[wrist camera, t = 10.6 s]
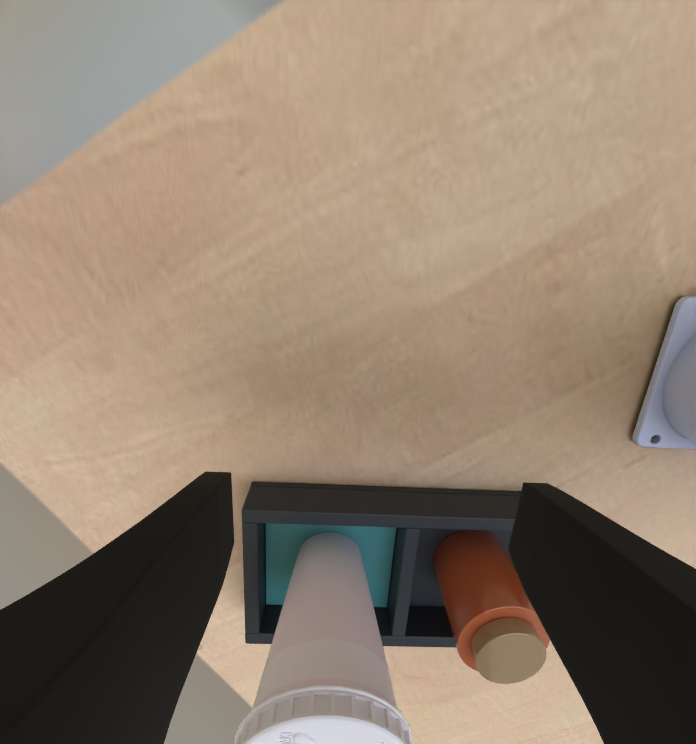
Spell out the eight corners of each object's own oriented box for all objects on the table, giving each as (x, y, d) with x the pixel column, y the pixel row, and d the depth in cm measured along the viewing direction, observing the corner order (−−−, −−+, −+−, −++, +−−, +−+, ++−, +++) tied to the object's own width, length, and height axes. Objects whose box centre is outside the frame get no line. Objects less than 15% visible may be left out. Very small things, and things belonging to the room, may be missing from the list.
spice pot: (511, 529, 22) (570, 624, 16) (498, 588, 23) (548, 694, 18) (437, 527, 22) (471, 622, 16) (427, 586, 23) (456, 692, 17)
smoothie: (353, 613, 23) (375, 1101, 10) (256, 578, 22) (135, 1071, 9) (404, 536, 22) (512, 1001, 8) (302, 495, 20) (235, 949, 7)
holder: (251, 481, 21) (241, 509, 19) (556, 492, 22) (582, 521, 19) (254, 606, 24) (245, 643, 21) (524, 612, 24) (543, 649, 22)
